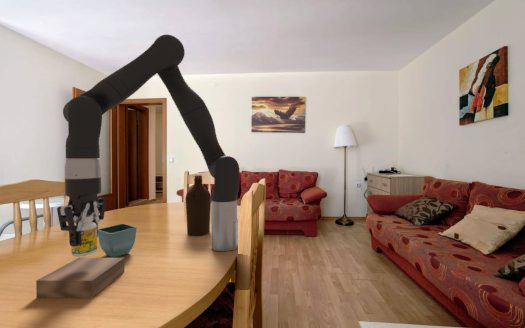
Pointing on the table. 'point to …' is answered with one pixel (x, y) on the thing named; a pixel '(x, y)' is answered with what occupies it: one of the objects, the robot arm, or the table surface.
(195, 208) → the olive oil
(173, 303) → the table surface
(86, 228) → the supplement bottle
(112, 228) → the flower pot
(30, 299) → the table surface
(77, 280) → the walnut plinth
